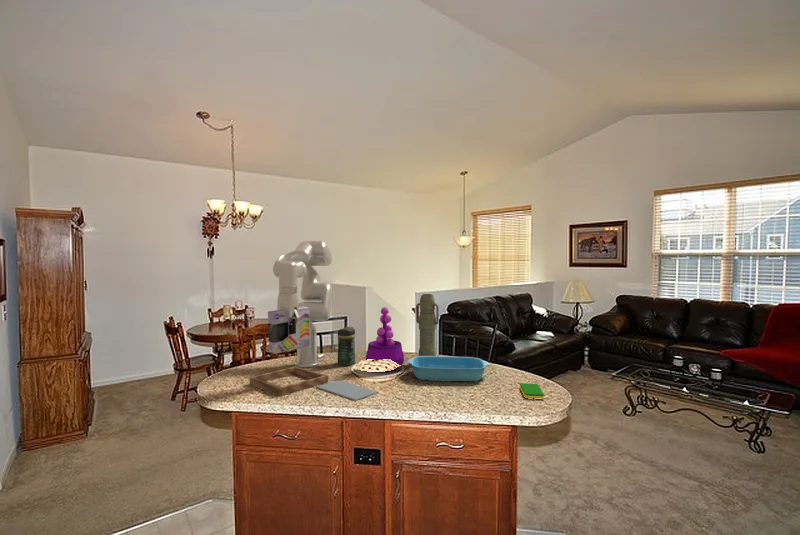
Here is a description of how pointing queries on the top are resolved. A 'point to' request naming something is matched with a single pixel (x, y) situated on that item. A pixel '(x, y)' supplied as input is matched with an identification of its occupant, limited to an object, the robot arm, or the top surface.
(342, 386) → the mat
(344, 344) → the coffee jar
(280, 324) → the cake pan box
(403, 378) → the top surface
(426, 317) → the thermos
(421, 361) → the casserole dish
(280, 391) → the frame
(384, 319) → the decorative plant
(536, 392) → the dish sponge
